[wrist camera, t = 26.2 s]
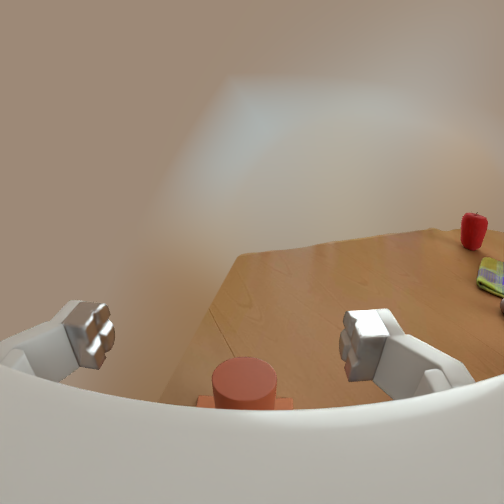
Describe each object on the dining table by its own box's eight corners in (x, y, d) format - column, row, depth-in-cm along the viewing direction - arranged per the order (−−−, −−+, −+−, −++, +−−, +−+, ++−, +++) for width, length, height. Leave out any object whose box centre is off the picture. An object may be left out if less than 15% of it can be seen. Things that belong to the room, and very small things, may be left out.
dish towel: (471, 287, 62) (474, 277, 61) (481, 261, 77) (483, 253, 76) (526, 308, 50) (530, 298, 49) (525, 277, 65) (527, 269, 64)
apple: (482, 248, 89) (490, 213, 83) (481, 255, 82) (489, 217, 77) (458, 240, 96) (465, 206, 90) (455, 247, 89) (462, 209, 84)
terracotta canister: (216, 454, 27) (208, 399, 24) (220, 414, 33) (215, 355, 29) (272, 455, 27) (278, 401, 24) (270, 415, 33) (275, 356, 29)
